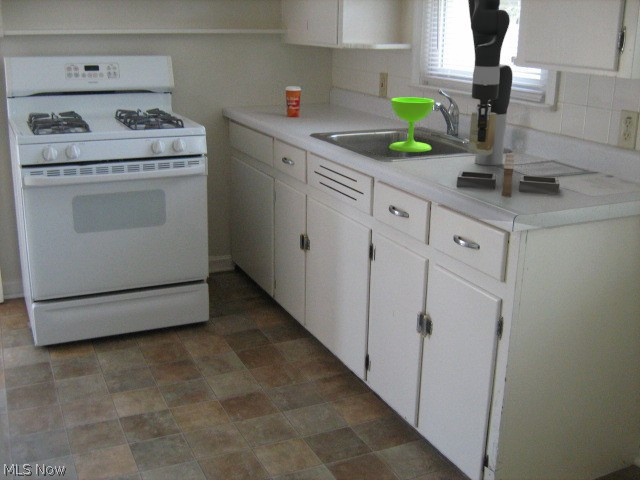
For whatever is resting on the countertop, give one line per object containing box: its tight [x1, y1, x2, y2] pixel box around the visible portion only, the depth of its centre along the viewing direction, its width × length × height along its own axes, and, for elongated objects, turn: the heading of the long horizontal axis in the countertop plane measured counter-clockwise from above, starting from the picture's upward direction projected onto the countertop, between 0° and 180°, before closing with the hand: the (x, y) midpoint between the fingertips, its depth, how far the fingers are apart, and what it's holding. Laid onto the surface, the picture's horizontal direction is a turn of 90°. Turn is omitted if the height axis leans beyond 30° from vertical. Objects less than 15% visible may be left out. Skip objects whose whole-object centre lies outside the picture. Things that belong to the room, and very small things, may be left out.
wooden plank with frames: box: [456, 152, 560, 198], centre depth 219 cm, size 24×29×8 cm
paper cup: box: [284, 85, 302, 118], centre depth 354 cm, size 8×8×14 cm
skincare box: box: [467, 110, 497, 156], centre depth 218 cm, size 6×4×12 cm
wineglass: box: [388, 97, 435, 153], centre depth 277 cm, size 16×16×18 cm
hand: (481, 139), depth 219 cm, fingers closed on skincare box, 5 cm apart
